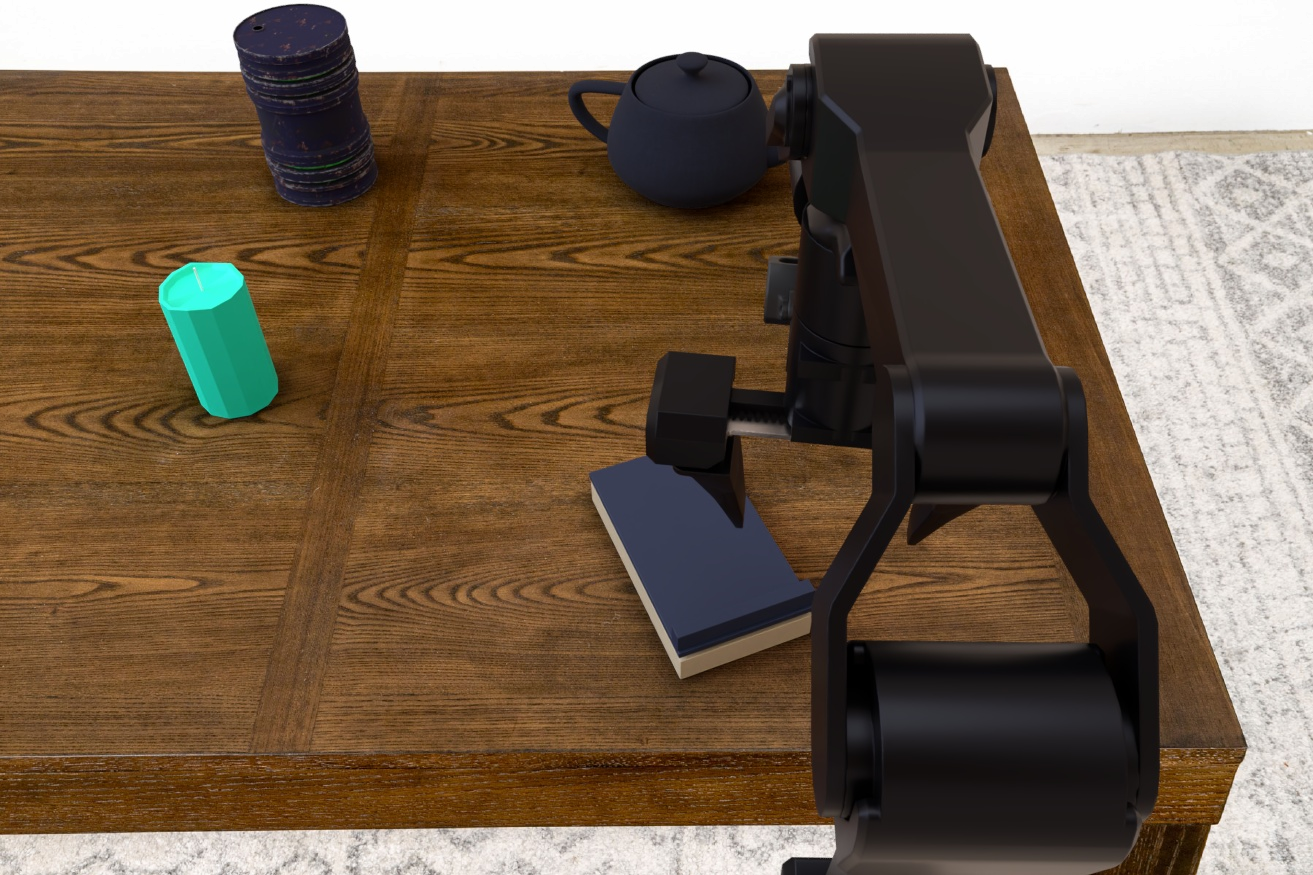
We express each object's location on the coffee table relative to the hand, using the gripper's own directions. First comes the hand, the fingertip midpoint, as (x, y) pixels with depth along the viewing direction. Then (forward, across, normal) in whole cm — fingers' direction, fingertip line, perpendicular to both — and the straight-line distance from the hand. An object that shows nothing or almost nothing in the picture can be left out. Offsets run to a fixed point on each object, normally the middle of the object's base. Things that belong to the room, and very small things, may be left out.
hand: (824, 530), depth 63 cm
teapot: (+13, +12, -53) cm, 56 cm away
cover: (+11, +8, -7) cm, 15 cm away
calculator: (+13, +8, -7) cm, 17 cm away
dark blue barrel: (+13, +48, -49) cm, 69 cm away
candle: (+13, +45, -19) cm, 50 cm away
